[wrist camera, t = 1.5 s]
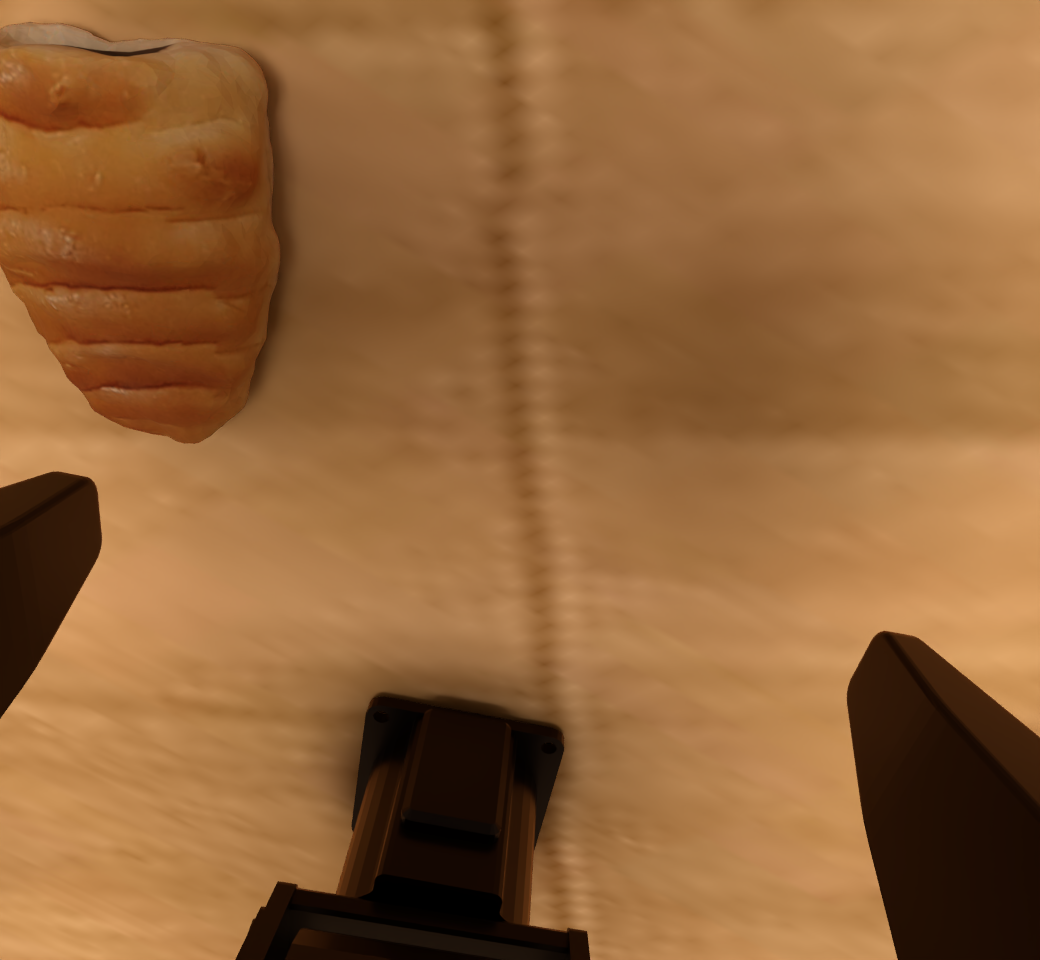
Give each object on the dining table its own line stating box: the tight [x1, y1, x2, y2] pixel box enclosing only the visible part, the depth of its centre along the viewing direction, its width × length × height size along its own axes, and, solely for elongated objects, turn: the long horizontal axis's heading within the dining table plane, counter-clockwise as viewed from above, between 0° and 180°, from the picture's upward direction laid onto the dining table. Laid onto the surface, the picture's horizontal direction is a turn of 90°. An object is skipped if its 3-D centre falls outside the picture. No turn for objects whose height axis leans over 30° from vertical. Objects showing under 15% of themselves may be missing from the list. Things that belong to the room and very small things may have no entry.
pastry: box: [0, 22, 280, 444], centre depth 19 cm, size 9×7×4 cm
